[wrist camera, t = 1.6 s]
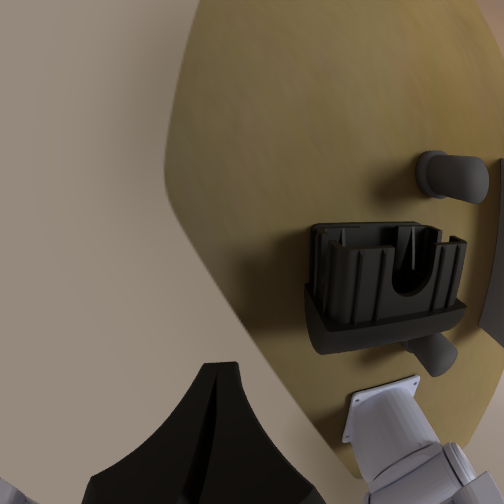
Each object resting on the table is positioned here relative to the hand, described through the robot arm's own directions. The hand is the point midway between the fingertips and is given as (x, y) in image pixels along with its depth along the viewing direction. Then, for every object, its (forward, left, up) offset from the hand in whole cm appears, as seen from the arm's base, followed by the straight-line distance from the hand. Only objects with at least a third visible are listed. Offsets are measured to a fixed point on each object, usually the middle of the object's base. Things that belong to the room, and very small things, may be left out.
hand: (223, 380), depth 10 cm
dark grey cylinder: (-7, -16, -9) cm, 20 cm away
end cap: (0, -10, -10) cm, 14 cm away
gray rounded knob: (+7, -16, -9) cm, 20 cm away
